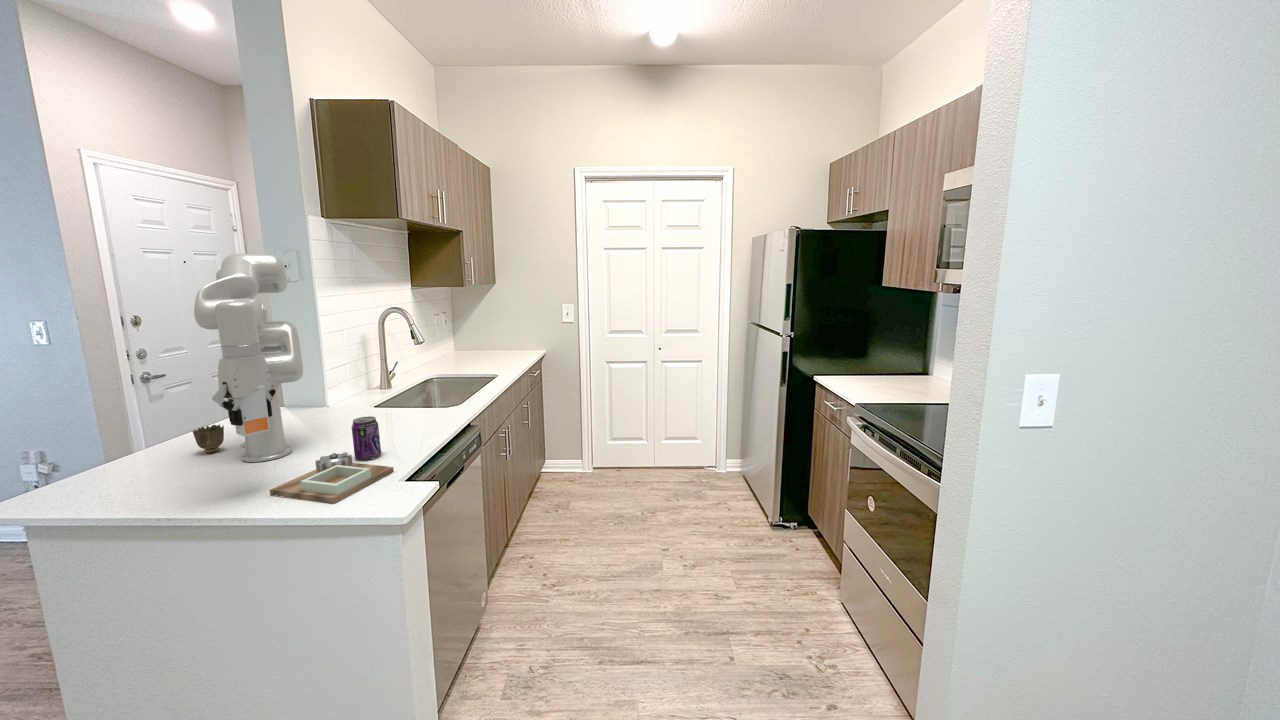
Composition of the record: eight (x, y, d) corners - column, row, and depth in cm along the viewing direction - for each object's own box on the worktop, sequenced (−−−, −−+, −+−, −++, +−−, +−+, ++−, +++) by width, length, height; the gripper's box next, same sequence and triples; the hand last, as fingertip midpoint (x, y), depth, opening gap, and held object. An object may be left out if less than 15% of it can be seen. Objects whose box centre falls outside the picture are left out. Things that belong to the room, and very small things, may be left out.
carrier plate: (270, 495, 127) (269, 489, 126) (335, 465, 146) (335, 460, 145) (334, 503, 122) (333, 498, 121) (393, 472, 141) (393, 467, 140)
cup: (191, 454, 156) (187, 430, 154) (218, 446, 162) (214, 423, 161) (205, 457, 153) (201, 432, 151) (232, 449, 160) (228, 425, 158)
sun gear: (309, 472, 137) (307, 459, 136) (335, 461, 145) (333, 448, 144) (334, 475, 135) (333, 462, 134) (359, 463, 143) (358, 451, 142)
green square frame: (301, 490, 126) (300, 481, 125) (337, 473, 136) (336, 464, 136) (337, 495, 123) (335, 485, 122) (371, 477, 133) (370, 468, 133)
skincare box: (243, 437, 124) (236, 390, 121) (236, 434, 126) (228, 388, 124) (271, 430, 129) (265, 385, 126) (264, 427, 131) (257, 383, 129)
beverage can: (370, 462, 148) (365, 423, 146) (349, 460, 150) (345, 422, 147) (386, 453, 155) (382, 416, 153) (366, 452, 156) (362, 415, 154)
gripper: (263, 345, 132) (273, 410, 136) (191, 356, 116) (204, 430, 119) (286, 346, 131) (295, 412, 134) (215, 358, 114) (227, 432, 117)
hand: (252, 419), depth 127 cm, fingers closed on skincare box, 6 cm apart
